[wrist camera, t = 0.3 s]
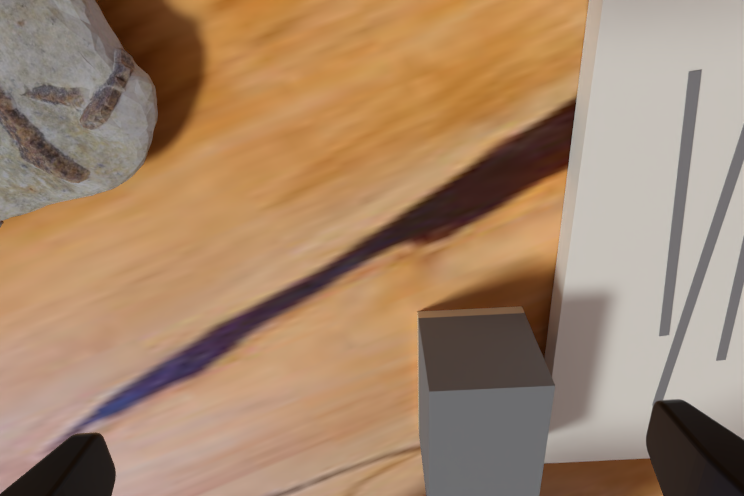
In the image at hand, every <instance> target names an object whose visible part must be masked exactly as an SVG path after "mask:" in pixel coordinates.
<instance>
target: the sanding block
mask: <svg viewBox="0 0 744 496" xmlns="http://www.w3.org/2000/svg"><path fill="white" fill-rule="evenodd" d="M417 326H418V429H419V437H420V446H421V455H422V463H423V472H424V480H425V489H426V496H539V494H540V487H541V480H542V473H543V466H544V460H545V453H546V446H547V439H548V432H549V425H550V418H551V412H552V405H553V398H554V391H555V384H554V381H553V379H552V377H551V374H550V372H549V370H548V367H547V365H546V362H545V360H544V358H543V355H542V353H541V351H540V348H539V346H538V343H537V341H536V339H535V336H534V334H533V332H532V329H531V327H530V324H529V322H528V320H527V317H526V315H525V313H524V310H523V308H522V306H519V307H498V308H478V309H458V310H437V311H417Z"/></svg>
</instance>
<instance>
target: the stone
mask: <svg viewBox="0 0 744 496" xmlns="http://www.w3.org/2000/svg"><path fill="white" fill-rule="evenodd" d="M157 117H158V110H157V98H156V89H155V86H154V84H153V82H152V80H151V78H150V77H149V75H148V74H147V73H146V72H145V71H143V70H142V69H141V68H140V67H139V66H138V65H137V64H136V63H135V61H134V60H133V57H132V56H131V55H130V54H129V53H128V52H126V51H125V50H124V48H123V46H122V45H121V43H120V41H119V39H118V38H117V36H116V35H115V33H114V32H113V30H112V29H111V27H110V26H109V24H108V22H107V21H106V19H105V17H104V15H103V13H102V11H101V9H100V7H99V5H98V4H97V2H96V1H95V0H0V227H1V226H2V224H3V221H2V220H5V219H8V218H10V217H14V216H19V215H22V214H26V213H29V212H32V211H35V210H37V209H40V208H42V207H44V206H46V205H49V204H54V203H58V202H63V201H67V200H72V199H77V198H82V197H87V196H92V195H94V194H97V193H101V192H104V191H107V190H111V189H113V188H115V187H117V186H119V185H120V184H122V183H124V182H125V181H127V180H128V179H129V178H131V177H132V176H133V175H134V174H135V173H136V172H137V170H138V169H139V168H140V167H141V166H142V165H143V163H144V161H145V159H146V156H147V153H148V150H149V148H150V145H151V142H152V137H153V131H154V128H155V125H156V122H157Z"/></svg>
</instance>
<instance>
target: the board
mask: <svg viewBox="0 0 744 496" xmlns="http://www.w3.org/2000/svg"><path fill="white" fill-rule="evenodd" d="M544 360H545V362H546V365H547V367H548V370H549V372H550V374H551V377H552V379H553V381H554V384H555V391H554V398H553V405H552V412H551V418H550V425H549V432H548V439H547V446H546V453H545V460H544V464H545V463H565V462H585V461H605V460H624V459H644V458H650V457H649V454H648V451H647V447H646V434H647V430H648V425H649V421H650V417H651V412H652V408H653V405H654V404H655V402H656V401H659V400H672V399H681V400H684V401H686V402H688V403H689V404H691V405H692V406H694V407H695V408H697V409H698V410H700V411H701V412H703V413H704V414H706V415H707V416H709V417H710V418H712V419H713V420H715V421H716V422H718V423H720V424H721V425H723V426H724V427H726V428H727V429H729V430H730V431H732V432H733V433H735V434H736V435H738V436H739V437H741V438H742V439H744V0H589V4H588V12H587V20H586V28H585V36H584V44H583V52H582V60H581V68H580V76H579V84H578V93H577V101H576V109H575V117H574V125H573V133H572V141H571V149H570V157H569V165H568V173H567V181H566V189H565V197H564V205H563V213H562V221H561V229H560V237H559V245H558V253H557V261H556V269H555V277H554V285H553V293H552V301H551V309H550V317H549V325H548V333H547V341H546V349H545V357H544Z"/></svg>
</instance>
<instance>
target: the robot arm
mask: <svg viewBox="0 0 744 496" xmlns="http://www.w3.org/2000/svg"><path fill="white" fill-rule="evenodd" d="M646 447H647V451H648V454H649V457H650V460H651V462H652V465H653V468H654V471H655V473H656V476H657V479H658V482H659V484H660V487H661V490H662V493H663V495H664V496H744V439H742V438H741V437H739V436H738V435H736V434H735V433H733V432H732V431H730V430H729V429H727V428H726V427H724V426H723V425H721V424H720V423H718V422H716V421H715V420H713V419H712V418H710V417H709V416H707V415H706V414H704V413H703V412H701V411H700V410H698V409H697V408H695V407H694V406H692V405H691V404H689V403H688V402H686V401H684V400H681V399H672V400H659V401H656V402H655V404H654V405H653V408H652V412H651V417H650V421H649V425H648V430H647V434H646ZM115 477H116V472H115V466H114V463H113V461H112V458H111V455H110V453H109V450H108V448H107V445H106V442H105V440H104V438H103V436H102V435H101V434H99V433H80V434H75V435H72V436H71V437H69V438H68V439H67V440H66V441H64V442H63V443H62V444H61V445H59V446H58V447H57V448H56V449H55V450H53V451H52V452H51V453H50V454H48V455H47V456H46V457H45V458H44V459H42V460H41V461H40V462H39V463H37V464H36V465H35V466H34V467H32V468H31V469H30V470H29V471H28V472H26V473H25V474H24V475H23V476H21V477H20V478H19V479H18V480H17V481H15V482H14V483H13V484H12V485H10V486H9V487H8V488H7V489H6V490H4V491H3V492H2V493H1V494H0V496H111V495H112V491H113V487H114V483H115Z"/></svg>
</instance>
